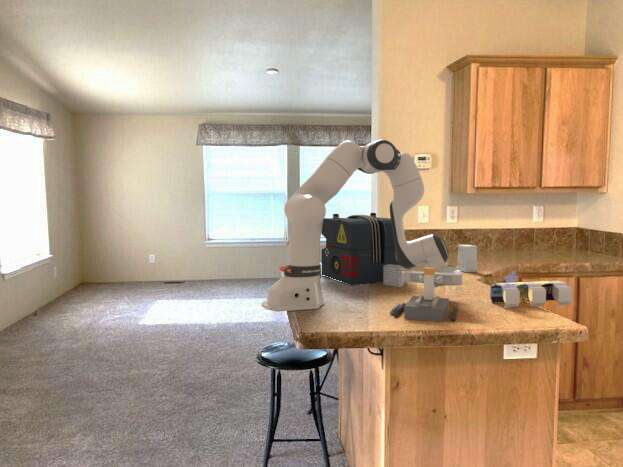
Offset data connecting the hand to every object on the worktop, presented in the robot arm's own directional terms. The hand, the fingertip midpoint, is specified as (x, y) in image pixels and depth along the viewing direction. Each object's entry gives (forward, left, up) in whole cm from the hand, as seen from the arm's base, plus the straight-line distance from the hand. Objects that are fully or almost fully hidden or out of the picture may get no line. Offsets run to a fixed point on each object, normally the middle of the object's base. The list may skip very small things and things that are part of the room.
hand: (429, 280), depth 161 cm
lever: (+1, +1, -6) cm, 6 cm away
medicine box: (+19, +43, -11) cm, 48 cm away
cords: (-3, -1, -10) cm, 11 cm away
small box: (+75, +56, -11) cm, 94 cm away
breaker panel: (-2, -2, -11) cm, 11 cm away
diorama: (+40, -8, -11) cm, 42 cm away
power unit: (+17, +65, -11) cm, 68 cm away
